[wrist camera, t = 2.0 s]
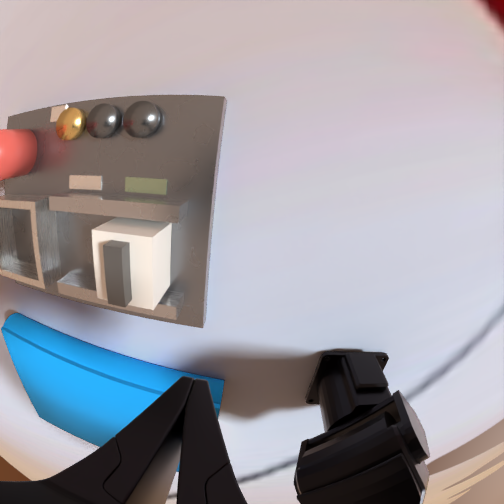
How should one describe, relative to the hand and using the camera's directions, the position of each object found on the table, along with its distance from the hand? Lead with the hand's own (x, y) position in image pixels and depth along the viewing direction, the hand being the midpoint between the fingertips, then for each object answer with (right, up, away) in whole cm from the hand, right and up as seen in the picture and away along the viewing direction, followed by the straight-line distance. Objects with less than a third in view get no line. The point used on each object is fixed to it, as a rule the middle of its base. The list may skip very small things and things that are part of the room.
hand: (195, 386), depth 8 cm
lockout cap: (-17, +13, +8) cm, 23 cm away
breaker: (-6, +4, +10) cm, 12 cm away
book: (-14, -12, +18) cm, 26 cm away
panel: (-11, +8, +11) cm, 17 cm away
